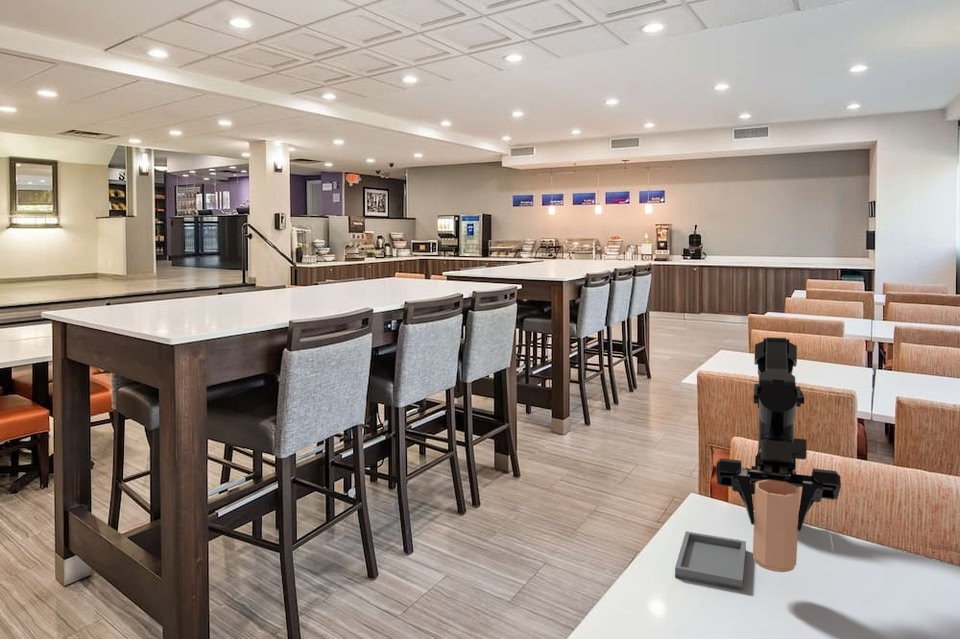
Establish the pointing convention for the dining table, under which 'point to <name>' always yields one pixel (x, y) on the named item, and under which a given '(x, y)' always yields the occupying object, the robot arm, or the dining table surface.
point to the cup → (775, 525)
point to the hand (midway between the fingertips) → (775, 527)
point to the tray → (712, 560)
